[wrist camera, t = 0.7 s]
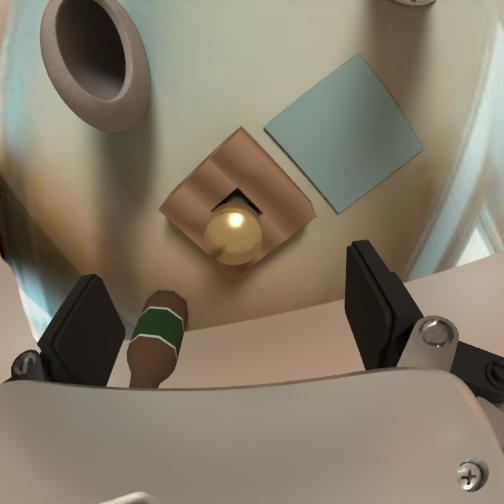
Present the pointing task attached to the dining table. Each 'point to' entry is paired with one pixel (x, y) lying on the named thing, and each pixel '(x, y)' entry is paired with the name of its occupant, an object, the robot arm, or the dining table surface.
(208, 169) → the block
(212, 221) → the pin
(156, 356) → the beer bottle
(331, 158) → the mat
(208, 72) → the dining table surface
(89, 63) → the planter
